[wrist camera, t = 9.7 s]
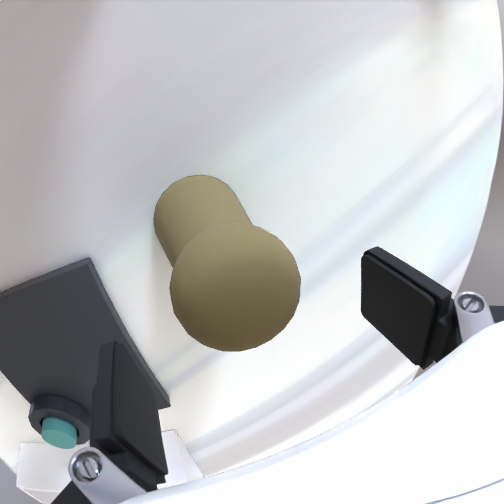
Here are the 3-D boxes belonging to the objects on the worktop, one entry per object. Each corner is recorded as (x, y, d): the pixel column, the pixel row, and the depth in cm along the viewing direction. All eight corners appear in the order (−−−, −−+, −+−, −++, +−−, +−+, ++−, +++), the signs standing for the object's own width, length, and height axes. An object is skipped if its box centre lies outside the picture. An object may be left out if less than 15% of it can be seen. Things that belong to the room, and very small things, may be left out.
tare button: (36, 417, 19) (33, 431, 17) (62, 413, 19) (61, 428, 18) (57, 437, 20) (56, 450, 19) (83, 433, 21) (83, 447, 20)
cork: (186, 275, 21) (223, 393, 12) (135, 209, 18) (124, 304, 9) (255, 228, 21) (342, 315, 12) (213, 157, 18) (286, 194, 9)
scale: (-38, 309, 15) (-52, 329, 13) (90, 256, 18) (82, 277, 16) (57, 426, 23) (55, 447, 20) (172, 401, 26) (177, 425, 23)
